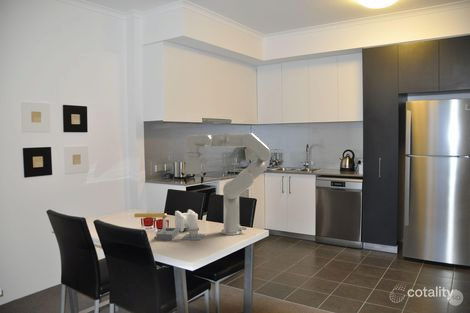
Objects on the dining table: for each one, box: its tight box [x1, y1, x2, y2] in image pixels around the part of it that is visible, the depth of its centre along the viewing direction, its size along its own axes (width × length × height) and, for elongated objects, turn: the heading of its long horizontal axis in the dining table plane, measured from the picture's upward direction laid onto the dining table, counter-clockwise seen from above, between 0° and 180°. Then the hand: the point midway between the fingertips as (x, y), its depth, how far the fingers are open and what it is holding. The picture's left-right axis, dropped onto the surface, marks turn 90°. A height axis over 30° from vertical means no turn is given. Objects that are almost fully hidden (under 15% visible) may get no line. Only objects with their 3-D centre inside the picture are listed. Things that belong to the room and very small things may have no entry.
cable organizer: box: [174, 209, 196, 233], centre depth 239 cm, size 15×11×12 cm
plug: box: [187, 212, 200, 237], centre depth 221 cm, size 6×6×13 cm
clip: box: [134, 212, 168, 218], centre depth 214 cm, size 3×18×2 cm, turn 89°
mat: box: [180, 233, 205, 241], centre depth 221 cm, size 11×12×1 cm
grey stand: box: [155, 217, 180, 241], centre depth 222 cm, size 9×16×13 cm, turn 174°
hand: (193, 183), depth 230 cm, fingers open, 9 cm apart
